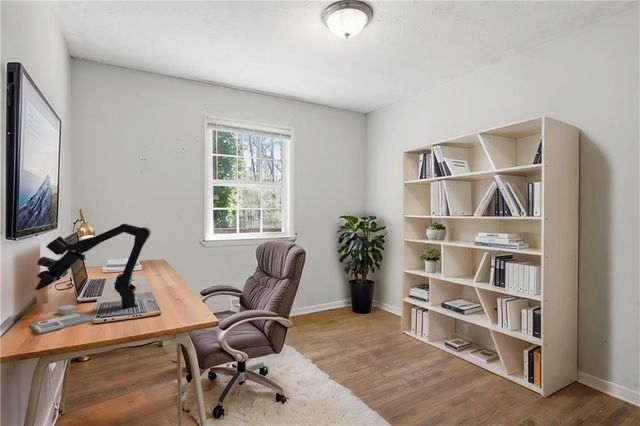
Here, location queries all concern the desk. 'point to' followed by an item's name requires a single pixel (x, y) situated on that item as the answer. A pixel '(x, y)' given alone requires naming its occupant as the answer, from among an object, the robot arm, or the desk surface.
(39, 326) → the board
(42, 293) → the pin
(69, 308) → the cover
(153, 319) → the desk surface
